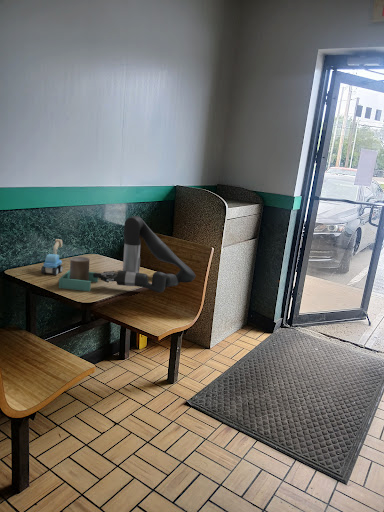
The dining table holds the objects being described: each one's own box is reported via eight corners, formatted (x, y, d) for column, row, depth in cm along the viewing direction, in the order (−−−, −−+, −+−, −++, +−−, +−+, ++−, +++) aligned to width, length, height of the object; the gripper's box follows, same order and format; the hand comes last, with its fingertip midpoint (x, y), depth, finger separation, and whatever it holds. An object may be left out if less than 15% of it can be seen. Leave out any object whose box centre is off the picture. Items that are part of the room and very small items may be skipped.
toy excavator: (67, 268, 245) (68, 239, 241) (55, 276, 229) (56, 245, 225) (52, 266, 246) (53, 237, 241) (40, 274, 229) (40, 243, 225)
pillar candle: (91, 285, 220) (93, 258, 217) (74, 288, 214) (75, 259, 211) (83, 280, 227) (84, 253, 224) (66, 282, 221) (67, 254, 218)
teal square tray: (98, 281, 228) (98, 272, 227) (89, 291, 212) (90, 282, 210) (69, 278, 228) (70, 269, 227) (58, 288, 212) (59, 278, 211)
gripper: (124, 289, 212) (89, 285, 212) (128, 281, 225) (96, 278, 225) (124, 275, 210) (90, 271, 211) (129, 268, 223) (97, 264, 223)
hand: (93, 274), depth 218 cm, fingers closed
